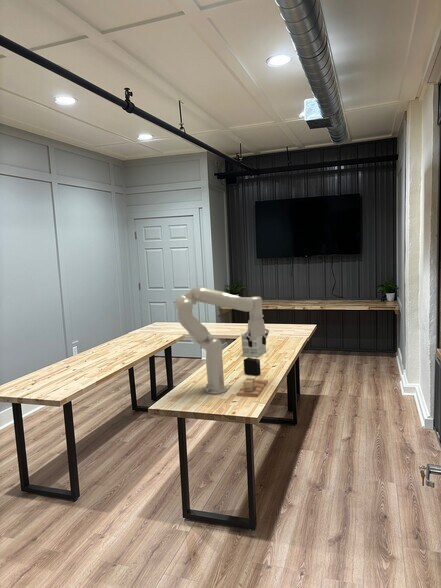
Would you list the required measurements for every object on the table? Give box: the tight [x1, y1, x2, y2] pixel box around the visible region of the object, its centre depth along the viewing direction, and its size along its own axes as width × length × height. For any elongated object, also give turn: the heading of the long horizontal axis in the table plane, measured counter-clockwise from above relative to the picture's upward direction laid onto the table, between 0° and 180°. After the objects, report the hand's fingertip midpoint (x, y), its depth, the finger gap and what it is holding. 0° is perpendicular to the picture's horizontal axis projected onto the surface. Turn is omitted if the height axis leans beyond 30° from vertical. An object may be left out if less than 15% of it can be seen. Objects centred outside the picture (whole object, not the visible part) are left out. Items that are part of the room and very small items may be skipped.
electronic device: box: [243, 357, 262, 377], centre depth 271 cm, size 4×10×10 cm, turn 51°
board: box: [236, 379, 269, 398], centre depth 244 cm, size 24×12×2 cm, turn 161°
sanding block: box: [243, 377, 256, 392], centre depth 238 cm, size 7×4×6 cm, turn 161°
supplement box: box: [240, 329, 267, 359], centre depth 318 cm, size 17×13×18 cm
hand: (257, 345), depth 252 cm, fingers open, 9 cm apart
